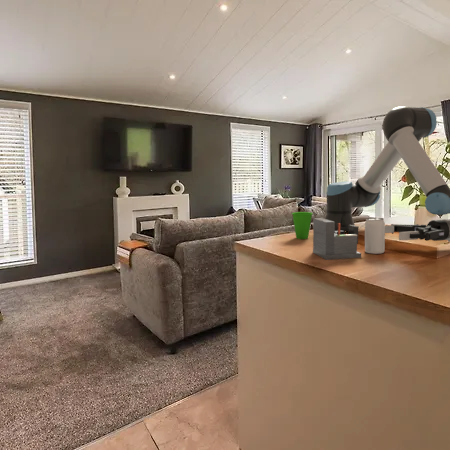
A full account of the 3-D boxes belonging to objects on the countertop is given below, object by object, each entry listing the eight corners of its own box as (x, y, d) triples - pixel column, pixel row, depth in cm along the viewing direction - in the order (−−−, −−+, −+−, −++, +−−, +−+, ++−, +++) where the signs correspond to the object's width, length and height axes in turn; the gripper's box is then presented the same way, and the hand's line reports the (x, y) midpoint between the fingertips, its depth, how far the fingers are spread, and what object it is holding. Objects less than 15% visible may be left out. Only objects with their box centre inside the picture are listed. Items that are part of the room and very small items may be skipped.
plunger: (351, 243, 125) (351, 220, 124) (359, 247, 119) (360, 222, 118) (327, 245, 124) (327, 221, 122) (334, 248, 118) (335, 223, 117)
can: (388, 252, 123) (388, 218, 121) (377, 255, 120) (377, 220, 118) (372, 249, 129) (372, 216, 127) (360, 252, 125) (360, 218, 124)
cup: (290, 236, 159) (290, 212, 157) (310, 235, 159) (310, 211, 157) (293, 240, 150) (293, 214, 149) (314, 239, 150) (314, 214, 148)
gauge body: (345, 250, 128) (346, 216, 126) (361, 257, 117) (362, 220, 116) (312, 252, 126) (313, 218, 125) (325, 259, 116) (326, 222, 114)
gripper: (470, 247, 114) (410, 250, 112) (418, 234, 139) (368, 237, 136) (472, 224, 113) (411, 227, 111) (419, 215, 138) (369, 217, 135)
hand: (387, 232), depth 123 cm, fingers open, 13 cm apart
